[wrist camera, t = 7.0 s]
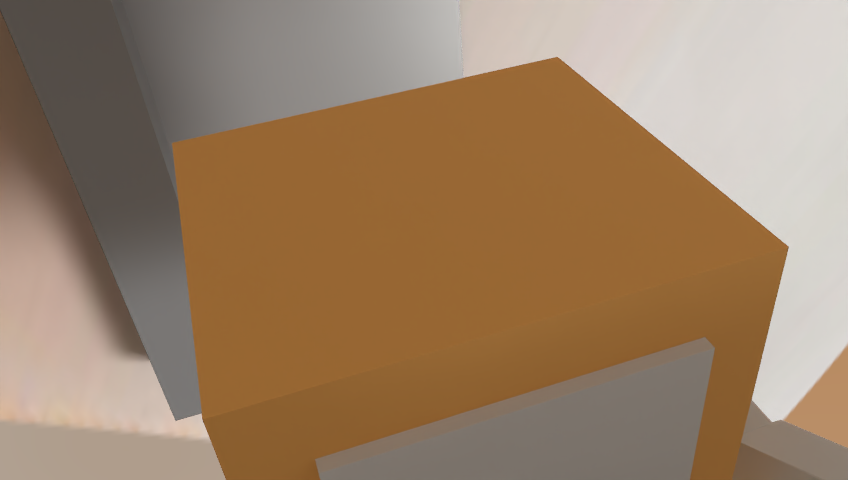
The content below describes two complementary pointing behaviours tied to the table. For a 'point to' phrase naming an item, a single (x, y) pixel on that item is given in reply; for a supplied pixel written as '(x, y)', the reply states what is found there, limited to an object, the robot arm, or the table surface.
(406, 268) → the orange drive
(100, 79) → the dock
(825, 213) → the table surface
